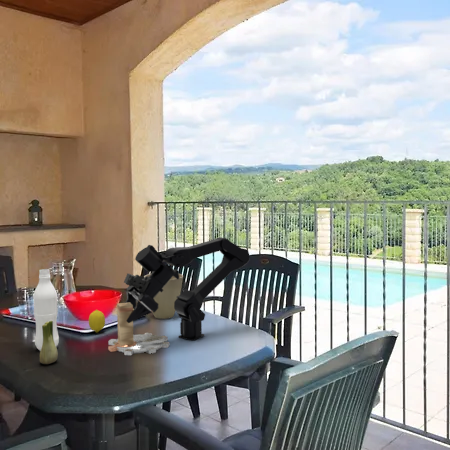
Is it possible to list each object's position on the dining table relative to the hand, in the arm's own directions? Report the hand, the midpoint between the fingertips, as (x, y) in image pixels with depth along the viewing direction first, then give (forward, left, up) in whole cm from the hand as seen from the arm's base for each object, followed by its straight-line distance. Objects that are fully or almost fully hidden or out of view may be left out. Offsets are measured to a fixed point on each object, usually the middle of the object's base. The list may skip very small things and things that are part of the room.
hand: (123, 318), depth 164 cm
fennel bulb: (+9, +22, -10) cm, 25 cm away
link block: (0, 0, -8) cm, 8 cm away
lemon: (+20, -7, -10) cm, 24 cm away
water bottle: (+20, +14, -10) cm, 26 cm away
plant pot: (+14, -36, -10) cm, 40 cm away
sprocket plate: (-2, -4, -9) cm, 11 cm away
